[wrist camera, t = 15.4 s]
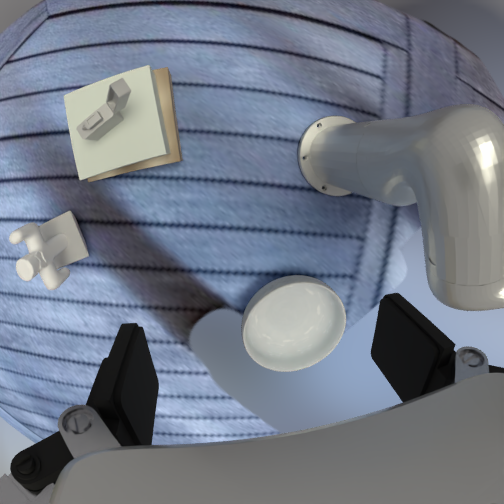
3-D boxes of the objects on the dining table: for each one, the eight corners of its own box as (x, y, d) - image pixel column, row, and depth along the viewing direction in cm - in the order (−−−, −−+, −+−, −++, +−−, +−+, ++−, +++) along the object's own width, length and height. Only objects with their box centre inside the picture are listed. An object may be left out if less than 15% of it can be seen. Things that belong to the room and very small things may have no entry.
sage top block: (155, 75, 32) (149, 65, 28) (170, 153, 36) (166, 153, 32) (78, 100, 32) (63, 95, 27) (93, 176, 35) (79, 180, 31)
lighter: (96, 141, 30) (69, 139, 22) (89, 130, 29) (60, 125, 22) (145, 103, 29) (130, 89, 22) (138, 92, 29) (120, 75, 21)
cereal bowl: (218, 298, 49) (221, 320, 42) (306, 245, 48) (323, 260, 42) (266, 362, 55) (274, 387, 48) (343, 318, 54) (359, 338, 48)
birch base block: (171, 75, 37) (167, 67, 32) (182, 160, 42) (180, 161, 37) (88, 97, 36) (75, 92, 31) (99, 178, 40) (88, 182, 35)
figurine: (65, 268, 43) (23, 312, 29) (43, 215, 40) (-9, 244, 26) (99, 254, 43) (62, 297, 29) (77, 199, 40) (28, 222, 26)
